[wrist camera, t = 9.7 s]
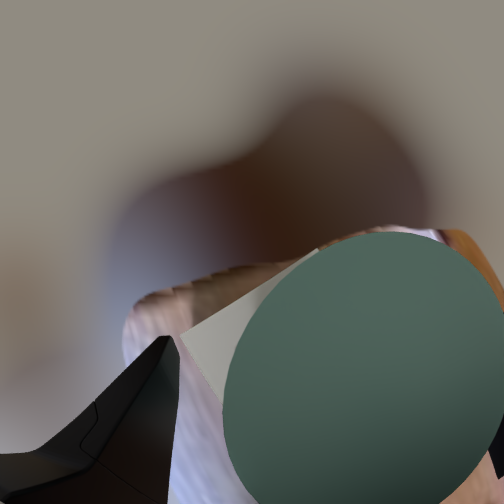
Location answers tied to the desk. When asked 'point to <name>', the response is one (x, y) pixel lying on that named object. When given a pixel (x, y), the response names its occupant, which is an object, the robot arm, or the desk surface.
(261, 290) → the plinth
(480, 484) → the desk surface
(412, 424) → the pillar
